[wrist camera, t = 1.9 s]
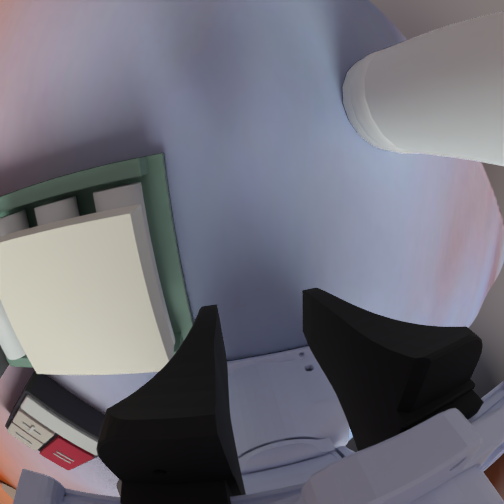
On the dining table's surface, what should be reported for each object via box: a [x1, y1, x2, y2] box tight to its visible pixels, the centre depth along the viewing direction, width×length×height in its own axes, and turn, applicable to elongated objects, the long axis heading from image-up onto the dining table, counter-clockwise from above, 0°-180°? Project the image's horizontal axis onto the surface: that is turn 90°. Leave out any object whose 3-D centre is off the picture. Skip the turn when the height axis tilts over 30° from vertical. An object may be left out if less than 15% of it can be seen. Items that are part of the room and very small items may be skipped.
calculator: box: [5, 371, 105, 470], centre depth 22 cm, size 11×4×15 cm
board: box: [0, 204, 174, 375], centre depth 14 cm, size 10×9×2 cm
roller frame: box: [0, 153, 193, 378], centre depth 15 cm, size 20×14×7 cm
